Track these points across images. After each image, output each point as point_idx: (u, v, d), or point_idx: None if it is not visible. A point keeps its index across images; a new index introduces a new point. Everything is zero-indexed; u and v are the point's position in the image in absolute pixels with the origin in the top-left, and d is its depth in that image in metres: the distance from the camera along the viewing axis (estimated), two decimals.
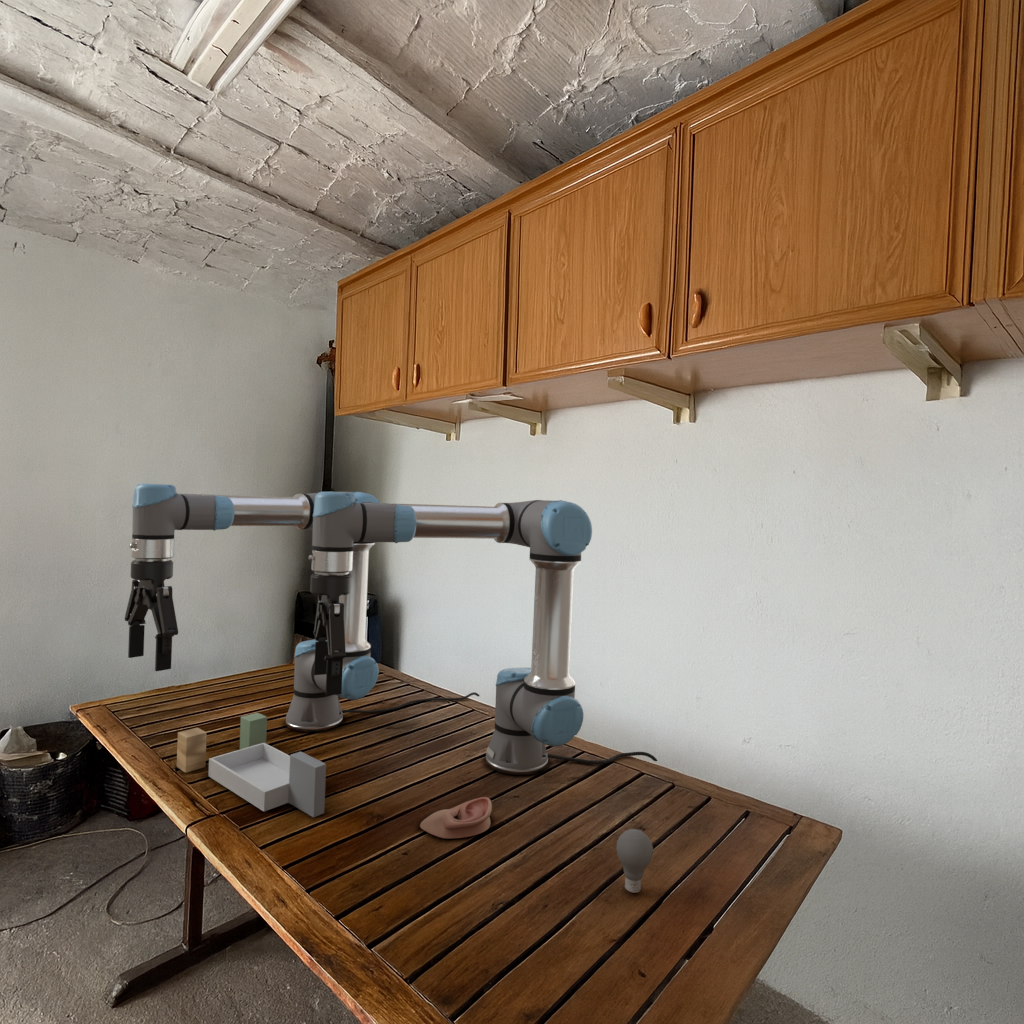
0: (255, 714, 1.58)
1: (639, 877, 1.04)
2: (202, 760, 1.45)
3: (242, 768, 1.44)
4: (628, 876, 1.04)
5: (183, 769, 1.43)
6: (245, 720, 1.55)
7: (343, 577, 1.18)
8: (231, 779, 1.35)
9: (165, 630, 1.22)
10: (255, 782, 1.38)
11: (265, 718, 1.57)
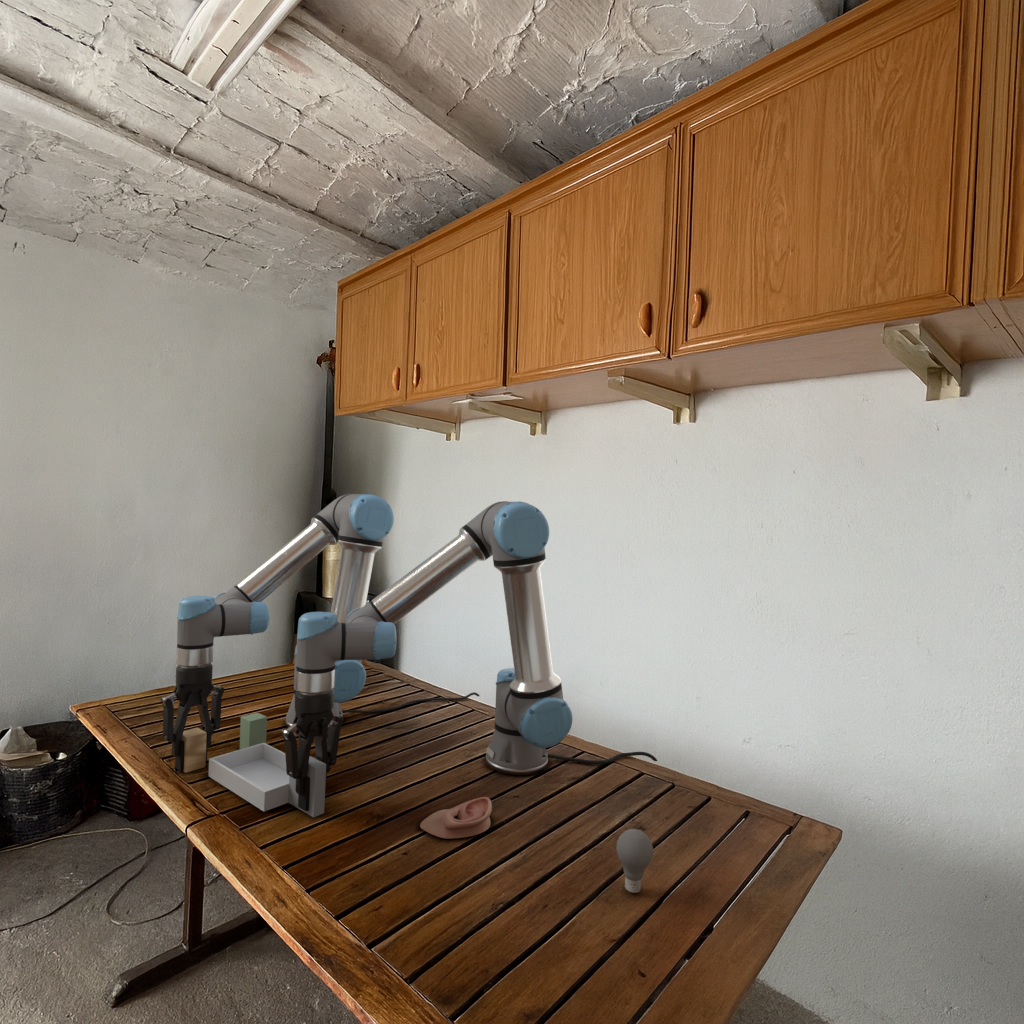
0: (255, 714, 1.58)
1: (639, 877, 1.04)
2: (202, 760, 1.45)
3: (242, 768, 1.44)
4: (628, 876, 1.04)
5: None
6: (245, 720, 1.55)
7: (305, 697, 1.24)
8: (231, 779, 1.35)
9: (163, 735, 1.41)
10: (255, 782, 1.38)
11: (265, 718, 1.57)
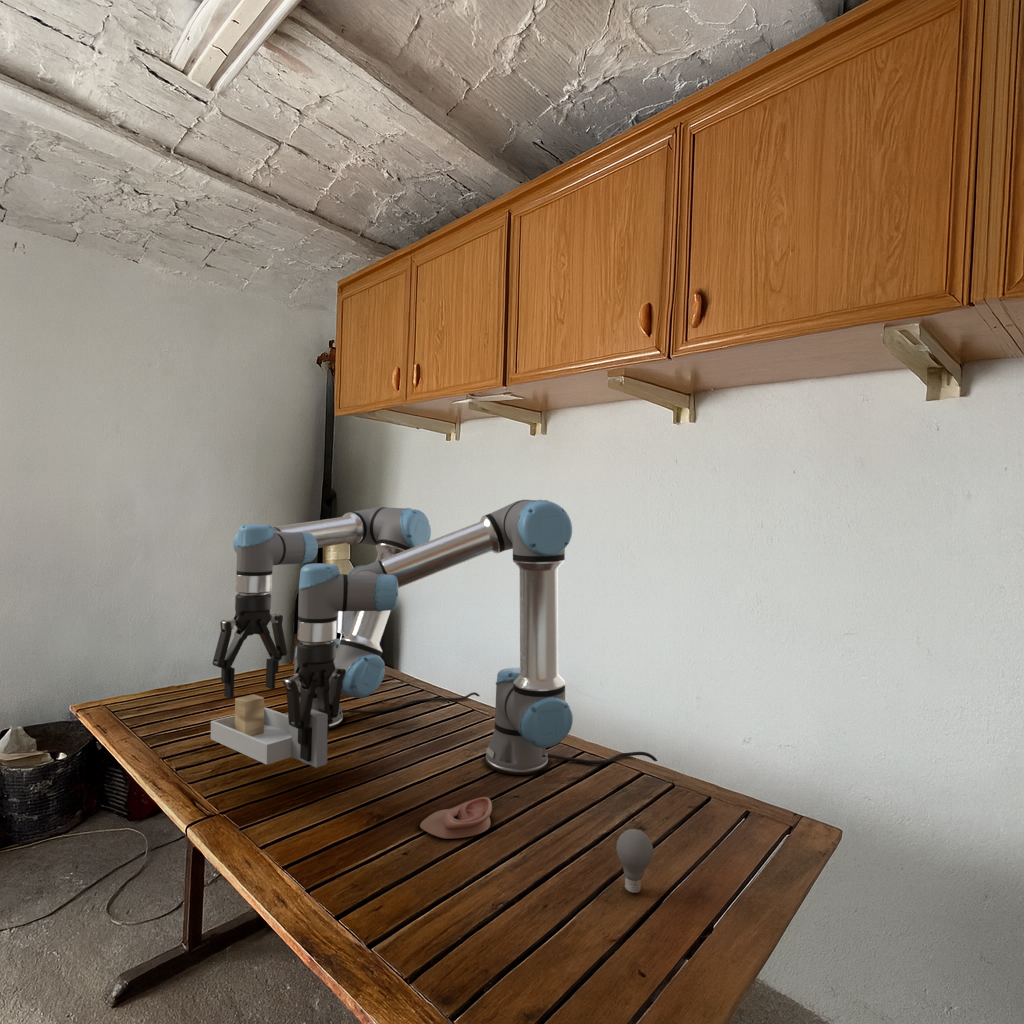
0: None
1: (639, 877, 1.04)
2: (260, 726, 1.43)
3: None
4: (628, 876, 1.04)
5: None
6: None
7: (307, 647, 1.24)
8: (233, 737, 1.34)
9: (213, 660, 1.37)
10: None
11: None
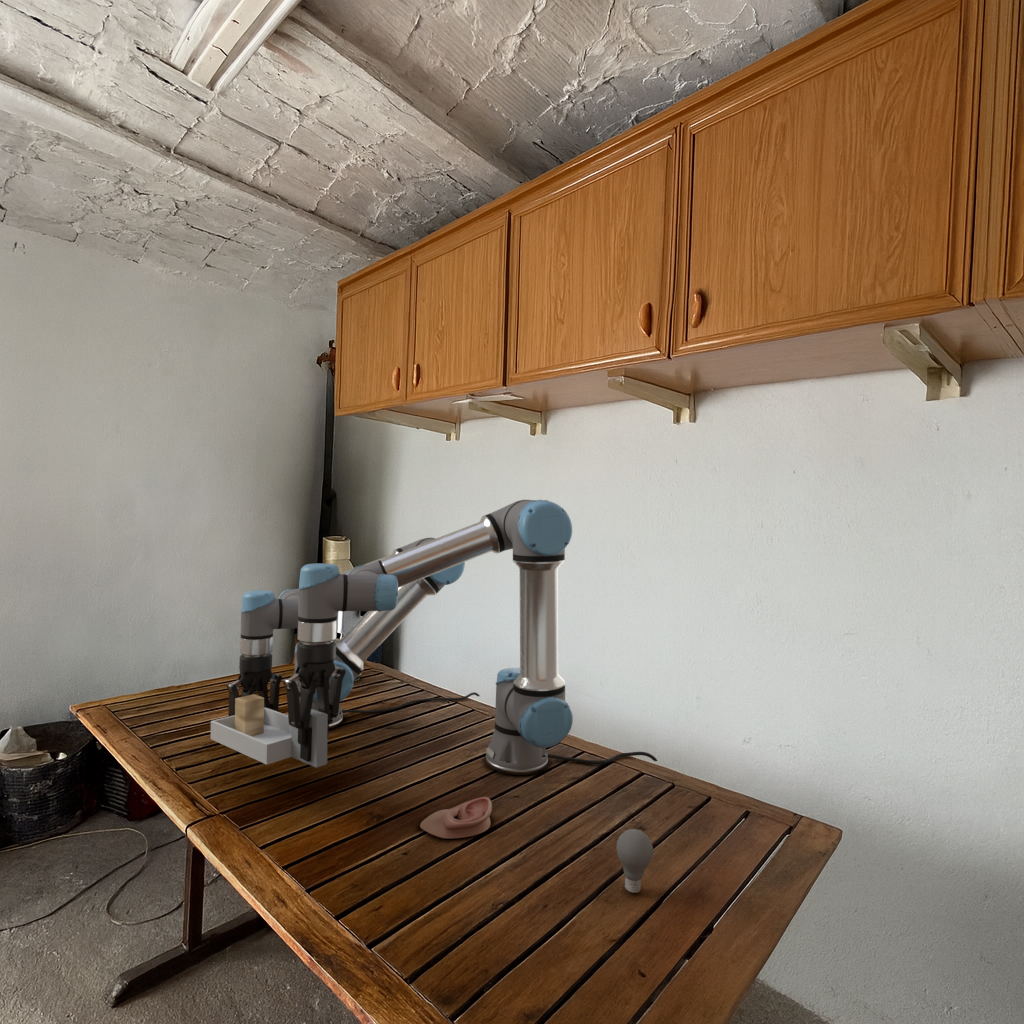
0: None
1: (639, 877, 1.04)
2: (260, 726, 1.43)
3: None
4: (628, 876, 1.04)
5: None
6: None
7: (307, 647, 1.24)
8: (233, 737, 1.34)
9: None
10: None
11: None
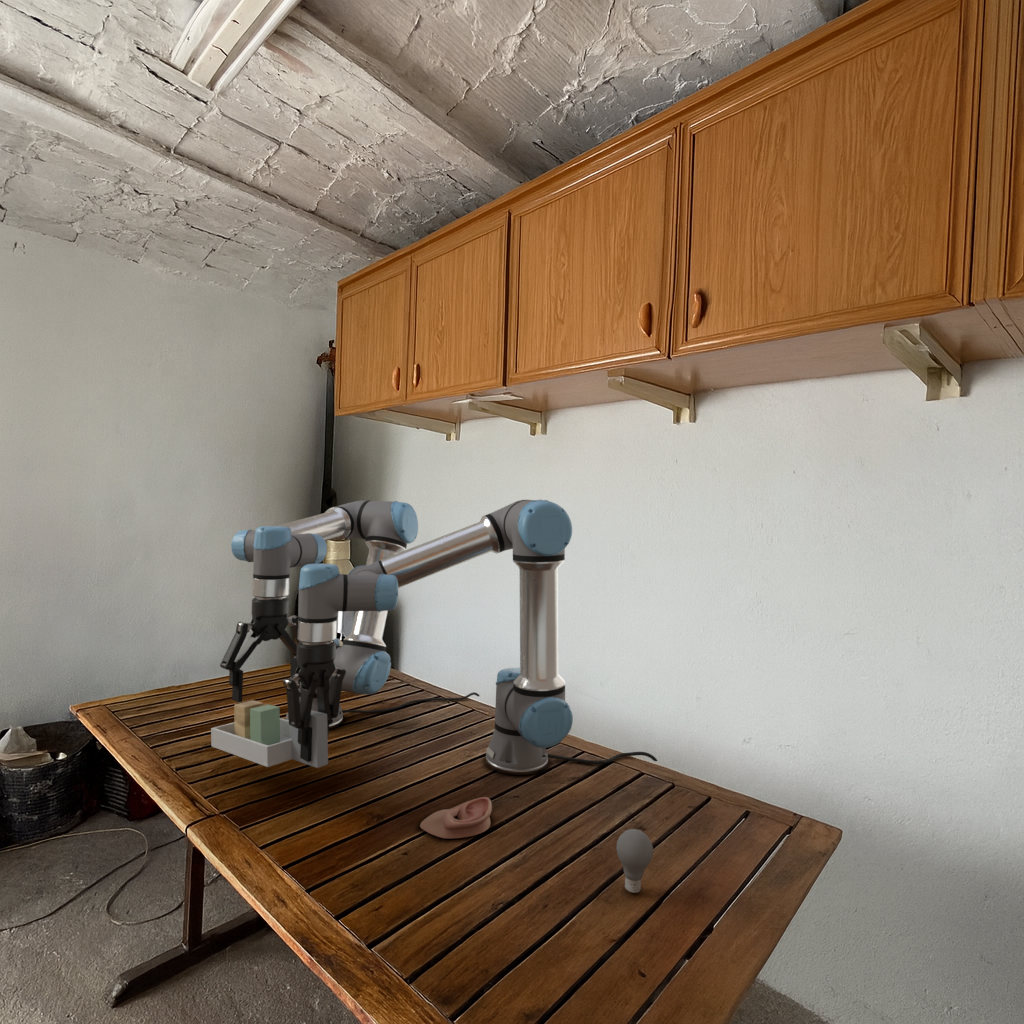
0: (266, 705, 1.41)
1: (639, 877, 1.04)
2: None
3: None
4: (628, 876, 1.04)
5: None
6: (255, 712, 1.37)
7: (307, 647, 1.24)
8: (233, 743, 1.34)
9: (221, 662, 1.31)
10: None
11: (277, 708, 1.39)
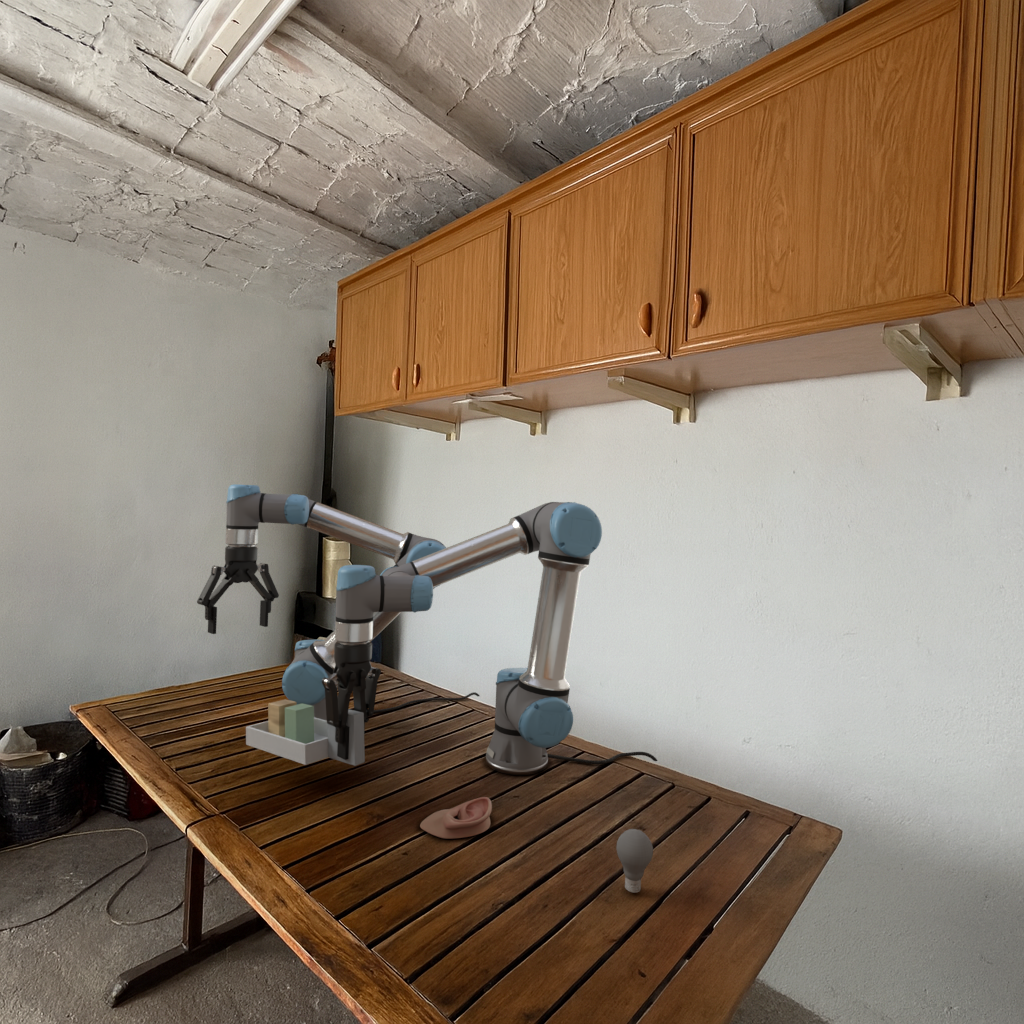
0: (300, 704, 1.43)
1: (639, 877, 1.04)
2: None
3: None
4: (628, 876, 1.04)
5: None
6: (290, 711, 1.39)
7: (345, 647, 1.26)
8: (269, 741, 1.36)
9: (198, 599, 1.53)
10: None
11: (312, 707, 1.41)
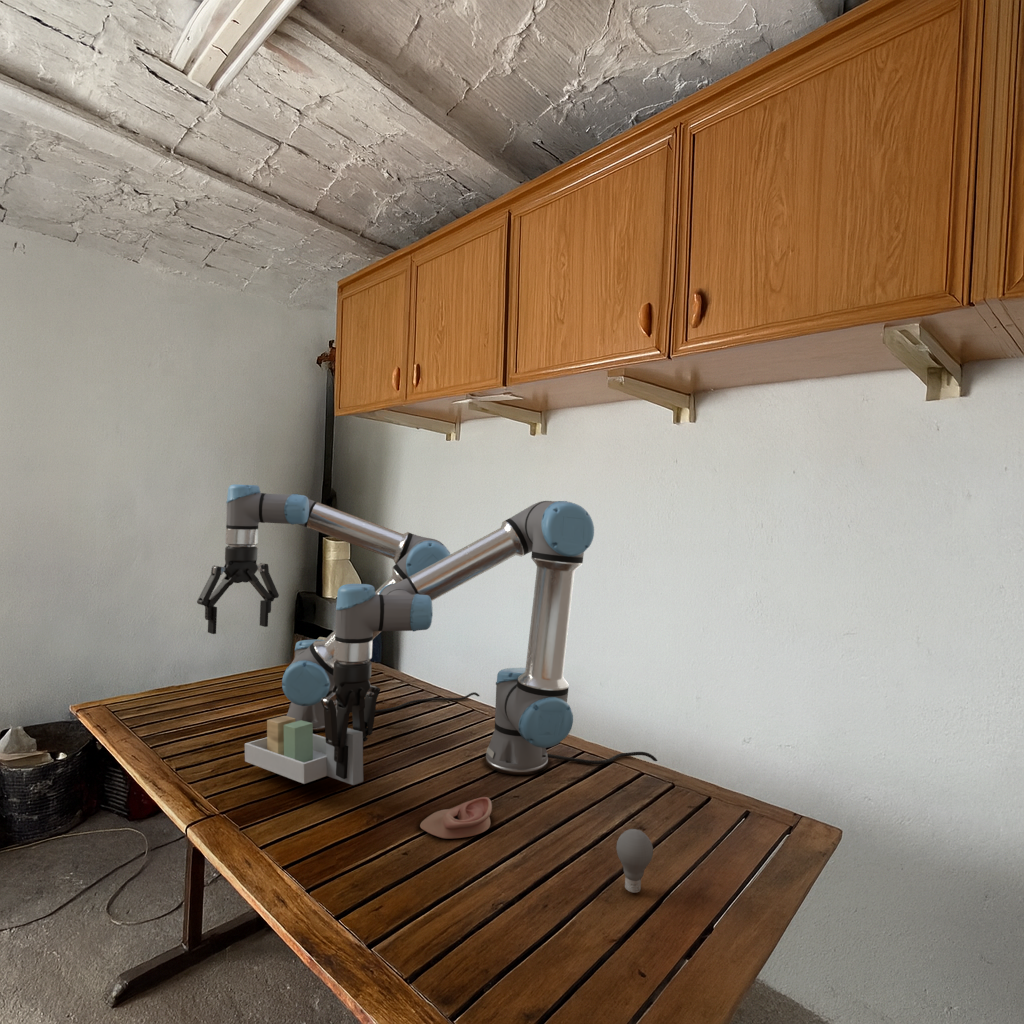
0: (299, 721, 1.43)
1: (639, 877, 1.04)
2: None
3: None
4: (628, 876, 1.04)
5: None
6: (288, 728, 1.39)
7: (344, 667, 1.26)
8: (268, 758, 1.36)
9: (198, 599, 1.53)
10: None
11: (311, 725, 1.41)
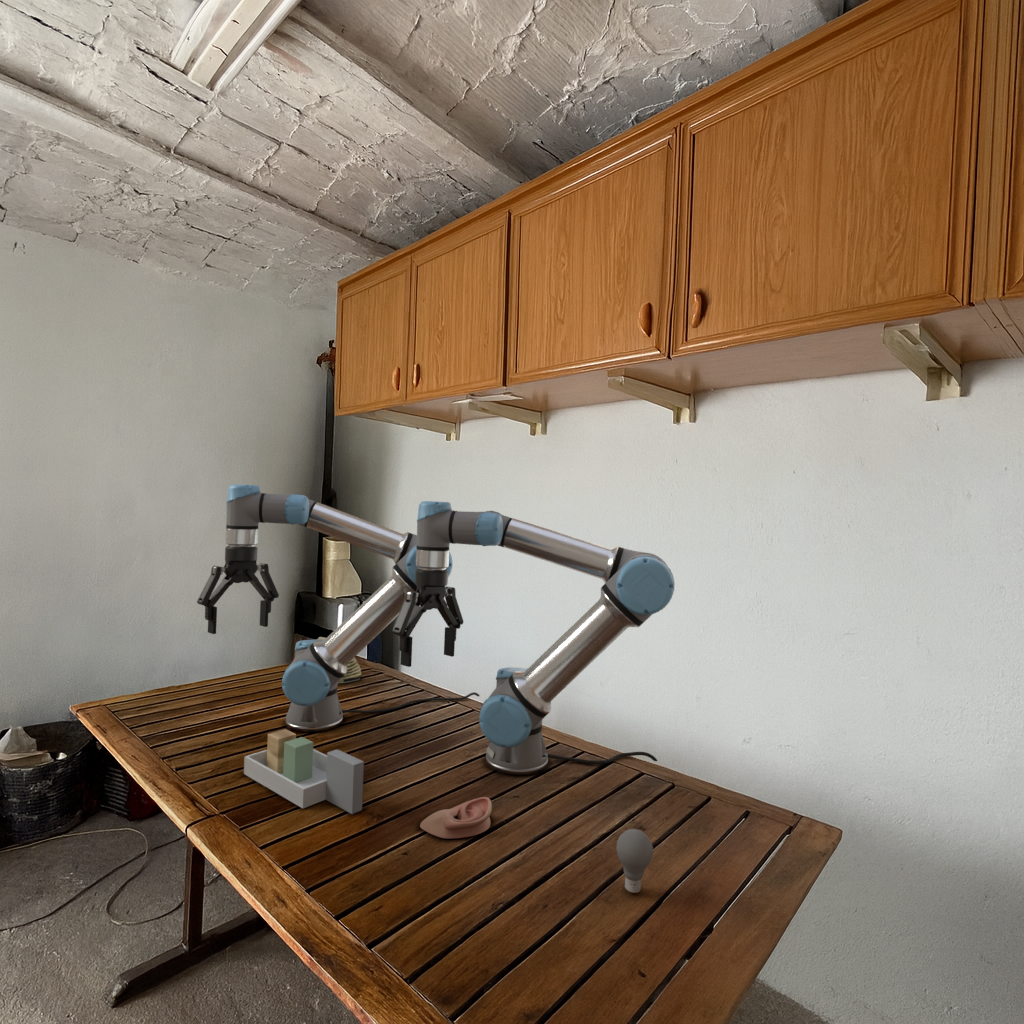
0: (300, 739, 1.43)
1: (639, 877, 1.04)
2: None
3: None
4: (628, 876, 1.04)
5: None
6: (289, 746, 1.39)
7: (426, 572, 1.42)
8: (268, 776, 1.37)
9: (198, 599, 1.53)
10: None
11: (311, 743, 1.41)
